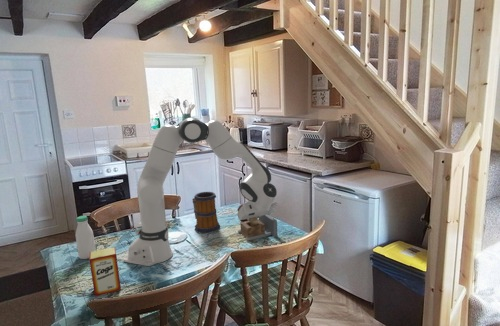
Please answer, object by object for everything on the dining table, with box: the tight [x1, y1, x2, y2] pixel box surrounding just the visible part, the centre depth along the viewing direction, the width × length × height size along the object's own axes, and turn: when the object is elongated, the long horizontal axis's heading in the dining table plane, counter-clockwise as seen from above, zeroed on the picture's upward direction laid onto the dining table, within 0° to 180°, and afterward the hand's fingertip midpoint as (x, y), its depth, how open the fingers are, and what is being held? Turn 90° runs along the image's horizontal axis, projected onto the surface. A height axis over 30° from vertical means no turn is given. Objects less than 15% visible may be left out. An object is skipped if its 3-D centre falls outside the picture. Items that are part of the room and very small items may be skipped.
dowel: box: [250, 217, 259, 226], centre depth 180 cm, size 4×4×10 cm
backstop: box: [237, 214, 278, 241], centre depth 181 cm, size 16×18×9 cm
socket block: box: [240, 218, 266, 239], centre depth 181 cm, size 10×9×6 cm
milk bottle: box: [75, 215, 97, 260], centre depth 163 cm, size 8×8×20 cm
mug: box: [192, 191, 221, 235], centre depth 192 cm, size 19×14×20 cm
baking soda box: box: [88, 246, 122, 297], centre depth 135 cm, size 10×6×16 cm
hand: (253, 218), depth 180 cm, fingers closed on dowel, 4 cm apart
